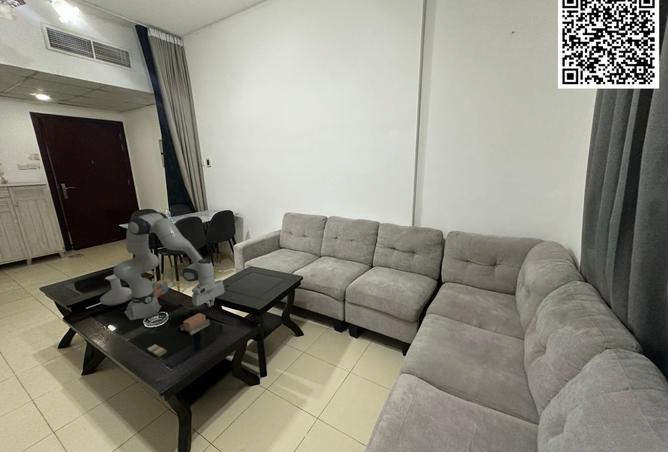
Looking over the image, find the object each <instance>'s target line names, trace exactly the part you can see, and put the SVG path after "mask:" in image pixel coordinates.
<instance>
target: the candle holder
mask: <svg viewBox="0 0 668 452" xmlns="http://www.w3.org/2000/svg"><path fill="white" fill-rule="evenodd" d="M104 280H107V281H109V283H110V287H111V289H110V290H108V292H106V293H104V294H103V295H101V297H100V298H99V300H100V303H101V304H102V305H107V306H116V305H121V304H124V303H126V302H129V301H131V300H132V299H131V298H132V297H131V296H132V292H131V289H130V287H125V286H122V283H121V279H119V278H117V277H116V276H115V275H114V274H112V275H108V276H106V277H105V278H104Z"/></svg>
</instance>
